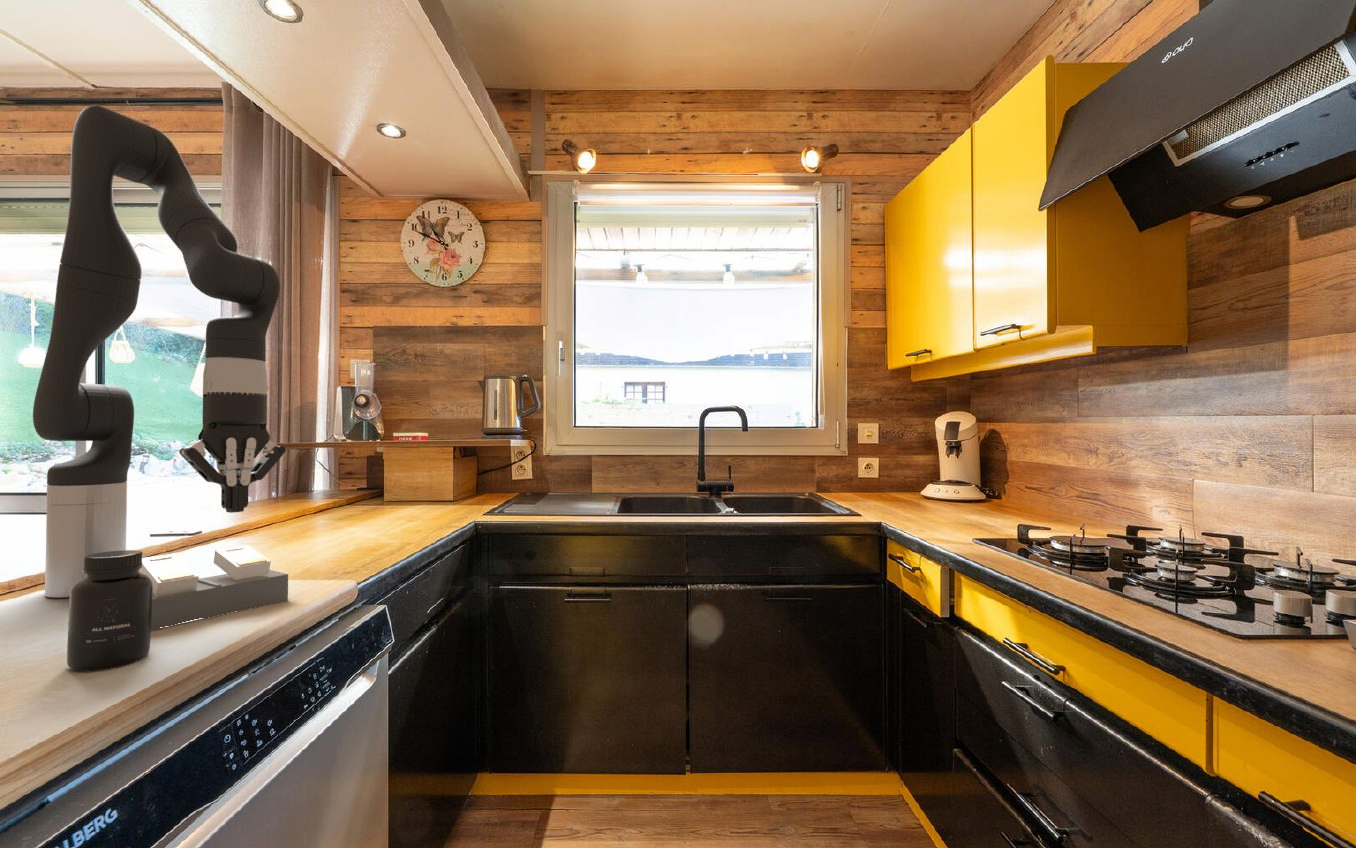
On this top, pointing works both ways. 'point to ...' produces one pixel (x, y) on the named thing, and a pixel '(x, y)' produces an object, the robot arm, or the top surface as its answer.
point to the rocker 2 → (242, 562)
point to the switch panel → (218, 598)
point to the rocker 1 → (169, 574)
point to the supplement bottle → (110, 612)
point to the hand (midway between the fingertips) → (234, 511)
